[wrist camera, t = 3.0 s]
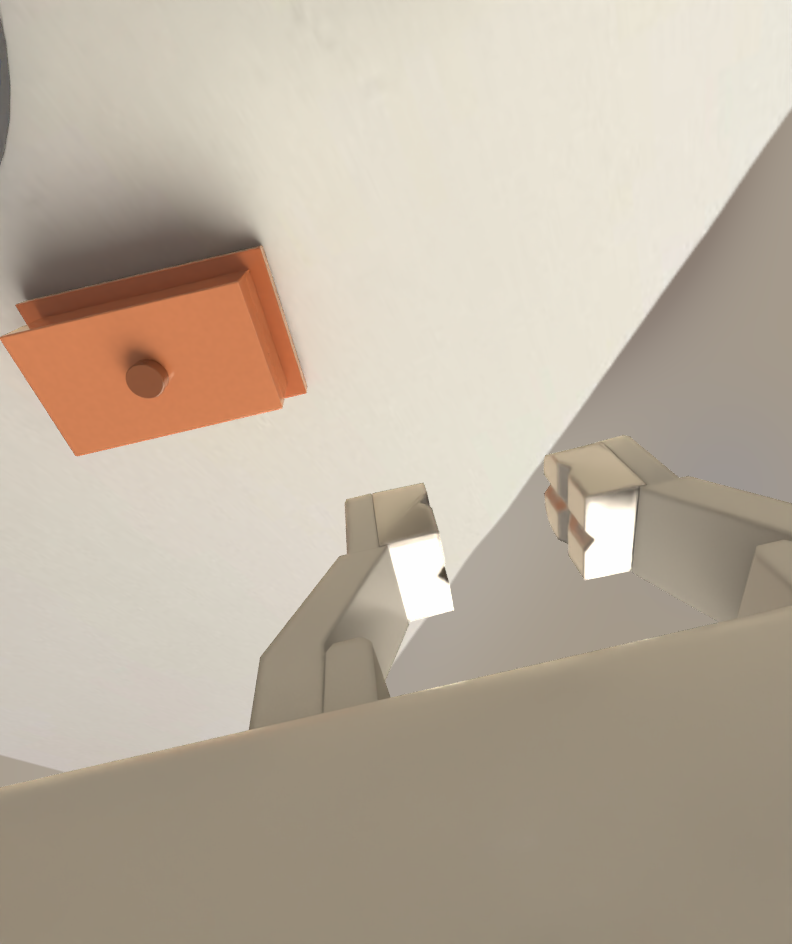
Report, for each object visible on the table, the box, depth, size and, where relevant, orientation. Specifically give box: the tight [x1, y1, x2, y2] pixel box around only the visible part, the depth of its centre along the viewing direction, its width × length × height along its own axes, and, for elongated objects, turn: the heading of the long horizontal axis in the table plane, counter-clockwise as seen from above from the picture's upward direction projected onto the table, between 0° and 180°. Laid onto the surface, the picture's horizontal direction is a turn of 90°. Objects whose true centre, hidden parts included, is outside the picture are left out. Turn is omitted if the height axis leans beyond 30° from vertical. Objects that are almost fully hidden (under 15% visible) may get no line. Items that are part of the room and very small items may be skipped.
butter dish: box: [0, 245, 307, 456], centre depth 23 cm, size 12×8×5 cm, turn 101°
